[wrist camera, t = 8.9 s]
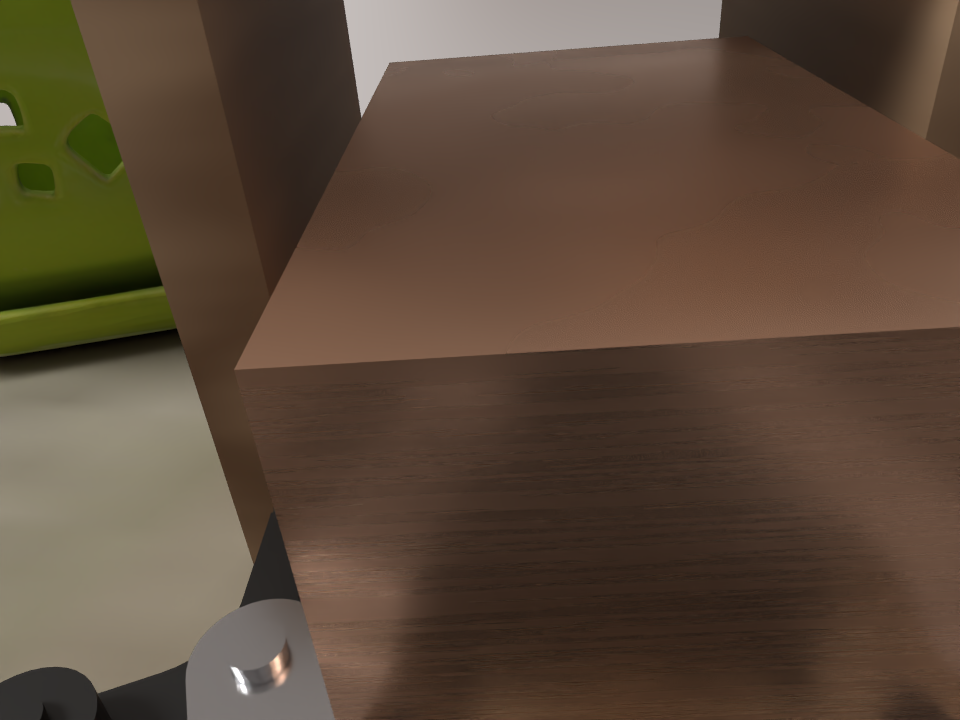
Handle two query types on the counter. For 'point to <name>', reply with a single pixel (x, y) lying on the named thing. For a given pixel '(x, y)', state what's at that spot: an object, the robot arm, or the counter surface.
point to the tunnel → (331, 124)
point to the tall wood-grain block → (622, 396)
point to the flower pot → (65, 197)
